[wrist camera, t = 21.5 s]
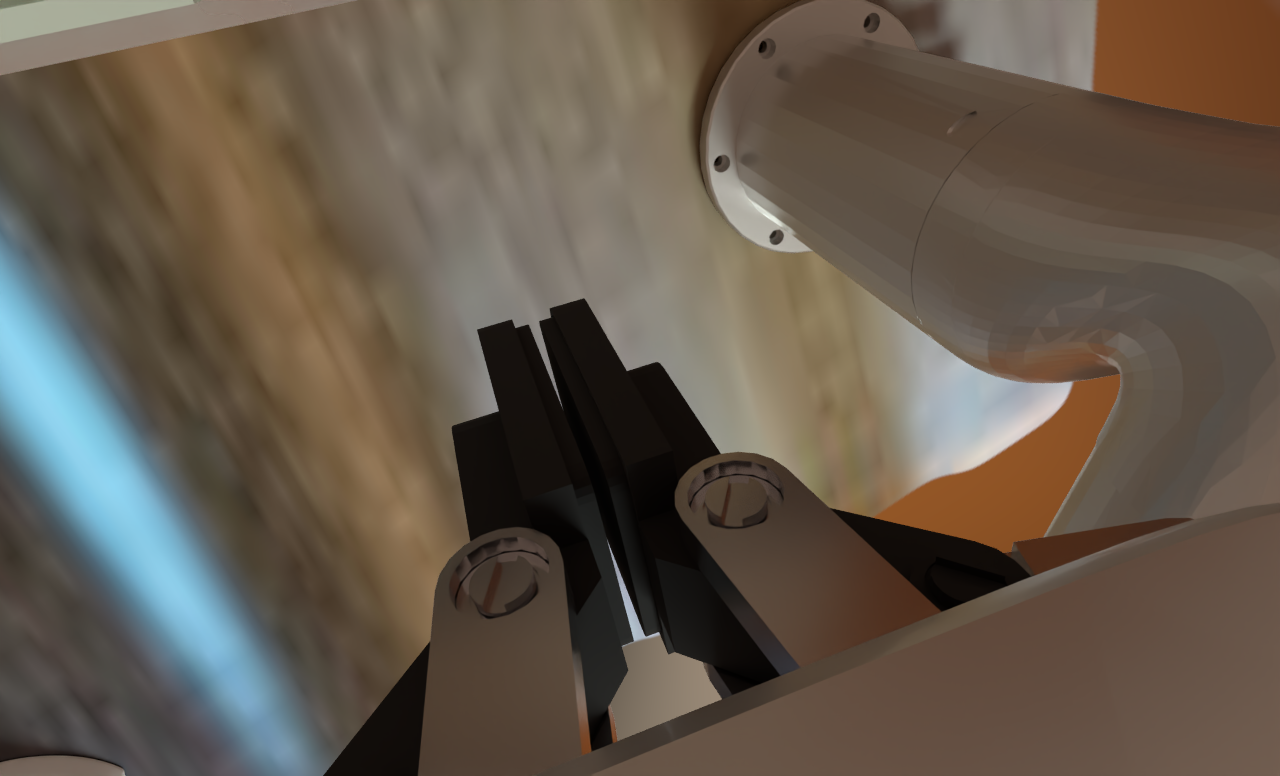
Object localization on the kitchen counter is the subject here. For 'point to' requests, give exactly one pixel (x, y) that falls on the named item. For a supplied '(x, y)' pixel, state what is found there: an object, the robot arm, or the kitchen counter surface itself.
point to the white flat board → (144, 30)
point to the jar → (58, 767)
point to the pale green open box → (70, 14)
